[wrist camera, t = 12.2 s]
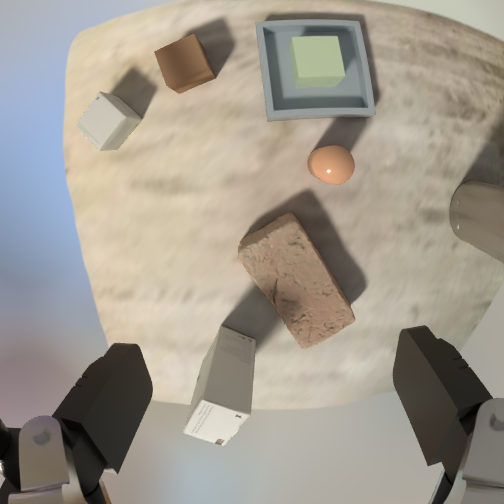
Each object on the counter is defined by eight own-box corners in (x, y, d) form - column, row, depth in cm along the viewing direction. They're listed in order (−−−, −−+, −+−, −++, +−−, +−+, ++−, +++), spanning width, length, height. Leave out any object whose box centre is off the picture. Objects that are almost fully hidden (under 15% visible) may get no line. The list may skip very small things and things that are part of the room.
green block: (329, 50, 30) (337, 36, 25) (335, 86, 31) (345, 76, 26) (289, 51, 30) (291, 37, 25) (295, 88, 32) (298, 77, 27)
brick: (236, 242, 39) (231, 254, 35) (291, 207, 37) (294, 214, 33) (301, 334, 43) (304, 353, 38) (351, 306, 41) (359, 322, 37)
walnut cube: (203, 47, 31) (194, 33, 27) (216, 78, 33) (208, 67, 28) (167, 63, 32) (154, 51, 27) (179, 94, 33) (166, 85, 29)
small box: (93, 127, 35) (73, 126, 30) (117, 95, 34) (99, 89, 29) (117, 152, 36) (99, 152, 31) (143, 119, 35) (127, 115, 30)
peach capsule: (338, 146, 34) (352, 144, 28) (340, 178, 36) (355, 183, 29) (306, 148, 35) (314, 146, 28) (308, 180, 36) (317, 185, 29)
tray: (353, 29, 29) (359, 21, 26) (367, 117, 33) (375, 114, 30) (256, 31, 30) (255, 22, 27) (267, 121, 34) (267, 118, 31)
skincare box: (220, 323, 43) (200, 395, 28) (258, 339, 43) (253, 414, 29) (201, 363, 45) (179, 433, 31) (236, 377, 46) (224, 449, 31)
